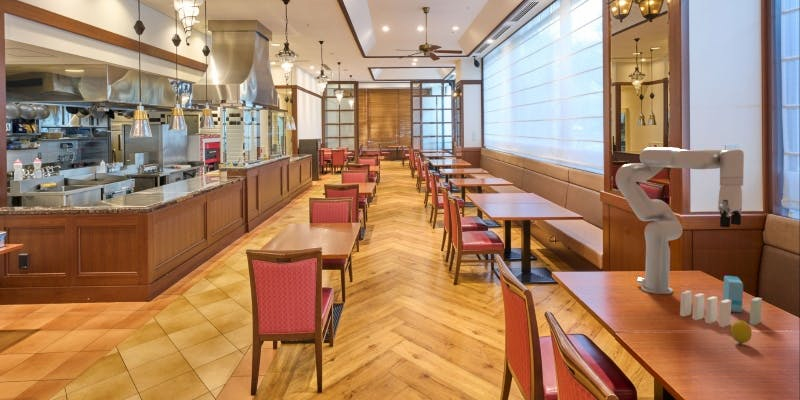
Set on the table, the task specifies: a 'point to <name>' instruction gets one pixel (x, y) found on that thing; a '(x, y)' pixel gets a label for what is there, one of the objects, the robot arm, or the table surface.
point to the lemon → (741, 332)
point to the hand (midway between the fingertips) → (730, 225)
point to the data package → (733, 292)
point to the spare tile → (755, 311)
